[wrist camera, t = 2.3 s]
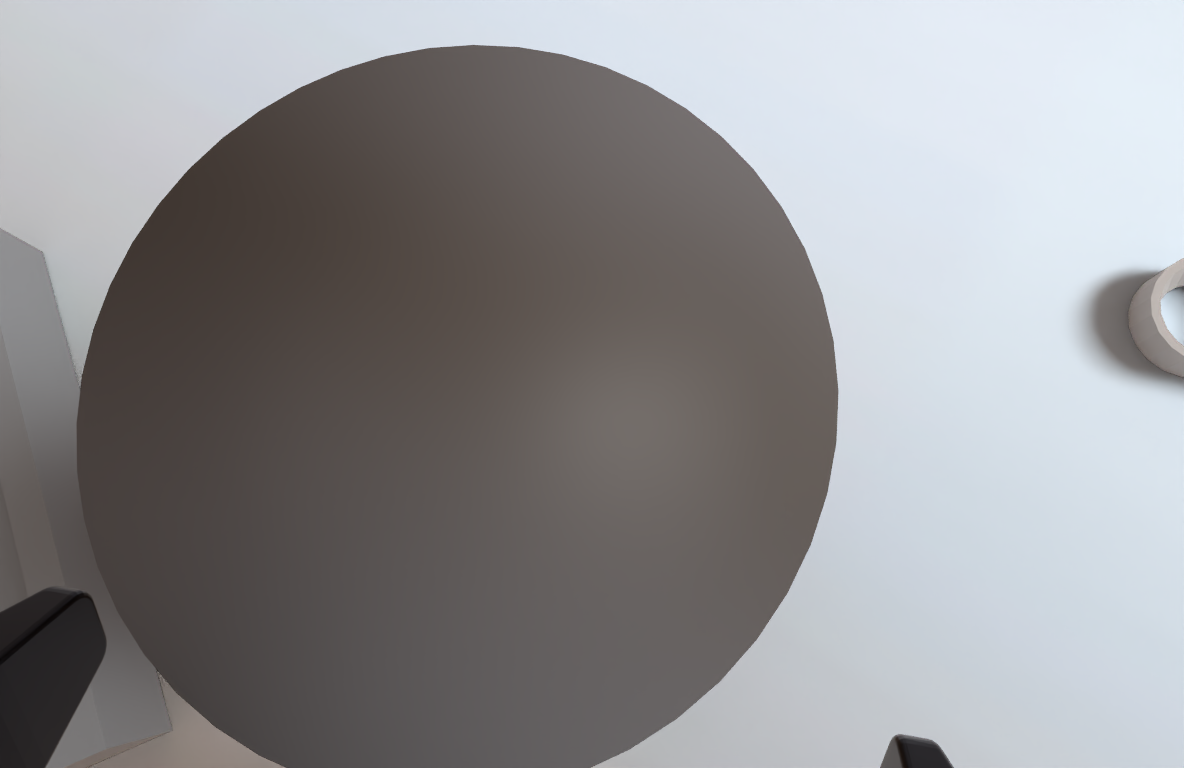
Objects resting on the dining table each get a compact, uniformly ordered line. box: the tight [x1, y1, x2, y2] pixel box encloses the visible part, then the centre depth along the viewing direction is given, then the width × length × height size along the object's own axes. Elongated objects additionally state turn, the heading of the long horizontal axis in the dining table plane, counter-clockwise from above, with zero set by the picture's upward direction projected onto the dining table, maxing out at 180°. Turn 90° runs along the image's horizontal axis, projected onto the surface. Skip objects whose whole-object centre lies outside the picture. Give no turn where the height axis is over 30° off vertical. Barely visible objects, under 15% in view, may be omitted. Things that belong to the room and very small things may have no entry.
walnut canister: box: [77, 45, 838, 768], centre depth 13 cm, size 6×6×14 cm
